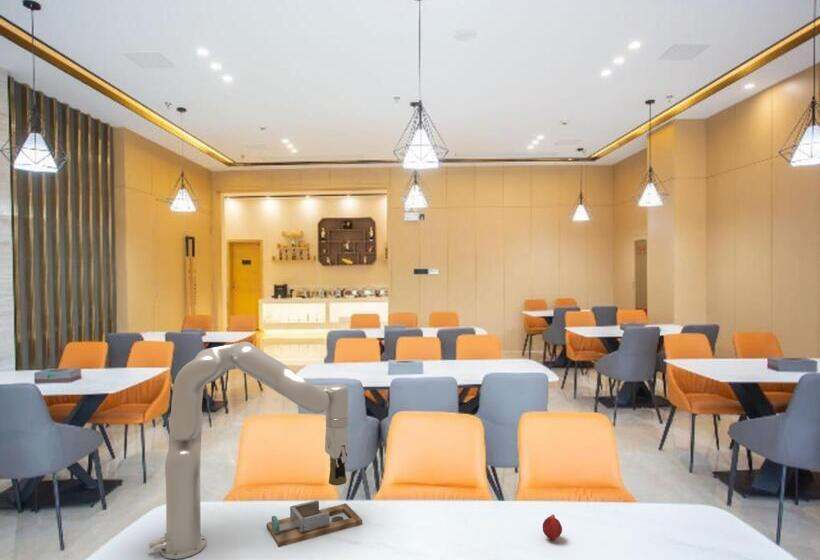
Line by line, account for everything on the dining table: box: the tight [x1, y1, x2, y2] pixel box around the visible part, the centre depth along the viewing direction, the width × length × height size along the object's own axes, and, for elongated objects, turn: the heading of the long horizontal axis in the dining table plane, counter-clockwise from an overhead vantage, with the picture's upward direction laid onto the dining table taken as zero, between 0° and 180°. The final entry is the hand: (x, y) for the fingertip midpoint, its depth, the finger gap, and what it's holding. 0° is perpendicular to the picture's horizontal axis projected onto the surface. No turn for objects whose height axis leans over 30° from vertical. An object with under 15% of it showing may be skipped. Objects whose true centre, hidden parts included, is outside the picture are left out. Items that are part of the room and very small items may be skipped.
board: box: [266, 503, 363, 548], centre depth 167 cm, size 28×14×2 cm, turn 120°
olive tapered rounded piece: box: [328, 455, 347, 486], centre depth 171 cm, size 6×6×11 cm
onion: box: [542, 513, 563, 541], centre depth 158 cm, size 6×6×8 cm
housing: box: [271, 499, 330, 534], centre depth 164 cm, size 17×11×4 cm, turn 120°
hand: (337, 475), depth 171 cm, fingers closed on olive tapered rounded piece, 3 cm apart
